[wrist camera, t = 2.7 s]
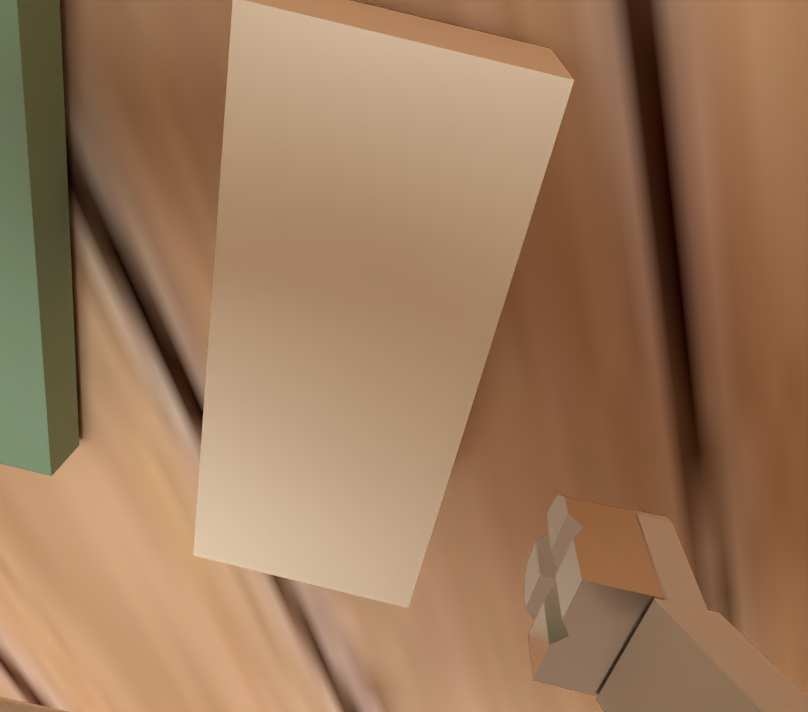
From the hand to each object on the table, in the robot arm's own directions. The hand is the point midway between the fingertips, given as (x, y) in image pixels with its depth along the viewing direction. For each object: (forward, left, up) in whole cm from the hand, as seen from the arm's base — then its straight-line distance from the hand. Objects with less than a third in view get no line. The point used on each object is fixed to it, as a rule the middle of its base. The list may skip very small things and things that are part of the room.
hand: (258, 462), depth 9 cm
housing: (-1, 0, -8) cm, 8 cm away
